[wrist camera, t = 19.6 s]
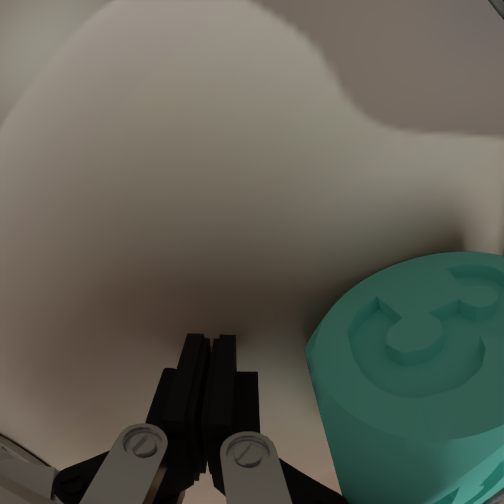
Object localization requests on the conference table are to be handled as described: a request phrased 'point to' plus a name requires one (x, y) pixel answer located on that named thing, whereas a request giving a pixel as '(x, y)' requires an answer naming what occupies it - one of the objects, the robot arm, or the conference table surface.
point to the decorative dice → (416, 381)
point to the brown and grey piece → (498, 6)
